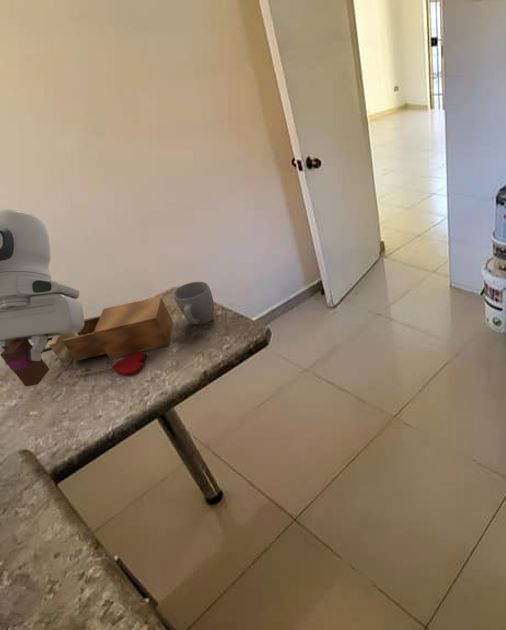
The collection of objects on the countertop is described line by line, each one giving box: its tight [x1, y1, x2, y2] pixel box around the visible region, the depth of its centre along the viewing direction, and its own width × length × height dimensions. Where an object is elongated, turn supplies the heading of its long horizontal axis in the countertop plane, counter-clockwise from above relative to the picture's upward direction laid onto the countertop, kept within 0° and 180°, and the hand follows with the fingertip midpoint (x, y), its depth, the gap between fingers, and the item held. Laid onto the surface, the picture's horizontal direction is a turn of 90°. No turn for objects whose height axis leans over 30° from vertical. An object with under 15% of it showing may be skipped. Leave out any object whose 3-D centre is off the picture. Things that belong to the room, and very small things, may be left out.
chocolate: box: [0, 338, 50, 387], centre depth 83 cm, size 2×5×8 cm, turn 11°
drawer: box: [41, 315, 107, 367], centre depth 108 cm, size 17×10×7 cm, turn 111°
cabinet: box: [94, 296, 174, 360], centre depth 112 cm, size 14×11×9 cm
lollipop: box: [74, 351, 147, 377], centre depth 104 cm, size 8×1×15 cm
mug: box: [173, 281, 215, 326], centre depth 116 cm, size 12×9×10 cm
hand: (23, 362), depth 82 cm, fingers closed on chocolate, 2 cm apart
